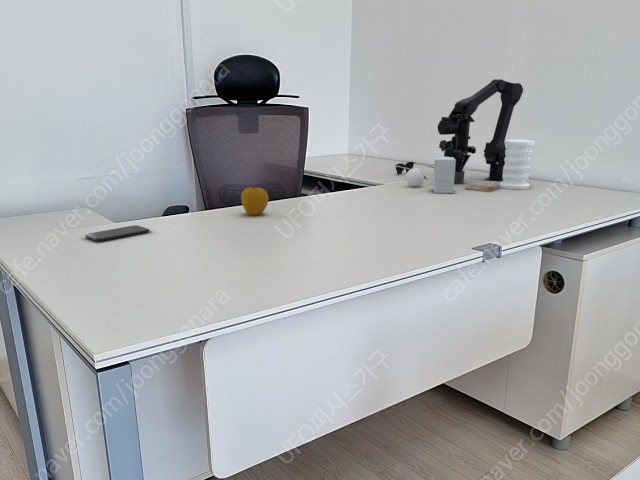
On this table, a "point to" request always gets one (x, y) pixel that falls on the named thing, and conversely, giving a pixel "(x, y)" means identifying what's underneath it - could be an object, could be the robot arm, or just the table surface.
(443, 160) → the white packaging box
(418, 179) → the white ball
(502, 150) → the robot arm
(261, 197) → the apple
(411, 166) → the sunglasses
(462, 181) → the pen cup
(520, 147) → the decorative container
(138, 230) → the smartphone
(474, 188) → the sketch board
